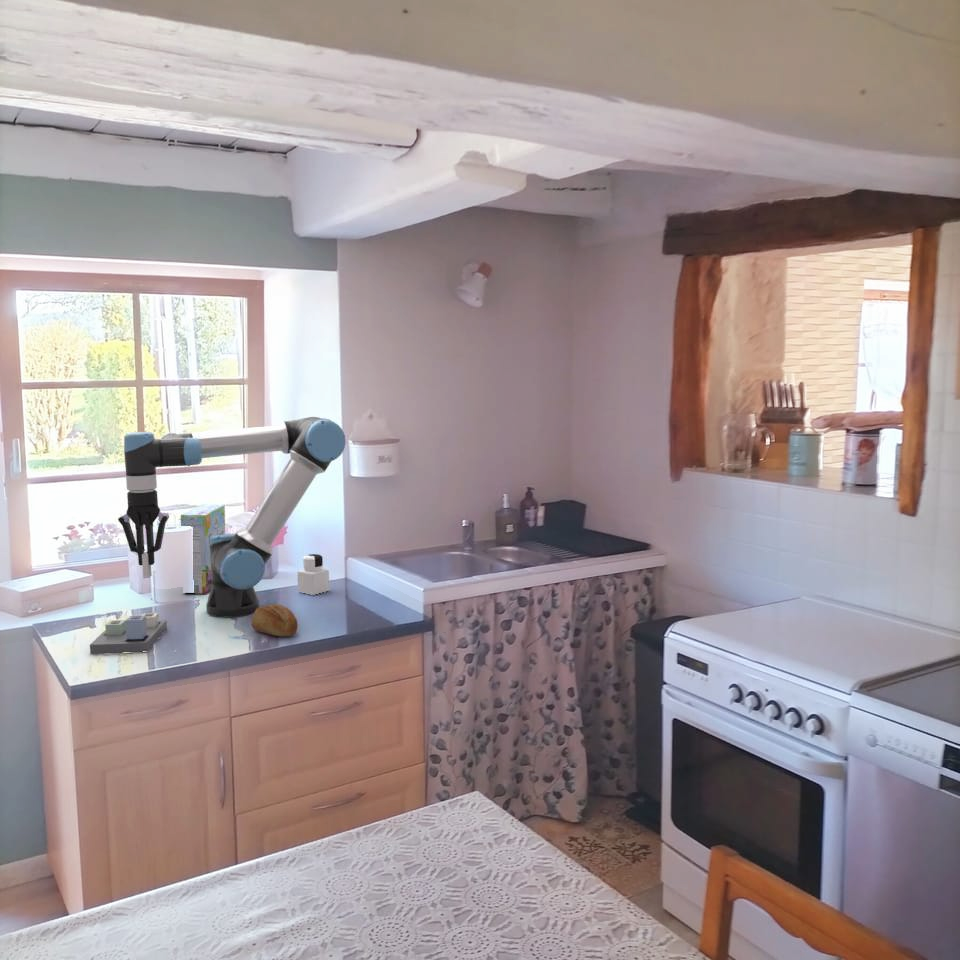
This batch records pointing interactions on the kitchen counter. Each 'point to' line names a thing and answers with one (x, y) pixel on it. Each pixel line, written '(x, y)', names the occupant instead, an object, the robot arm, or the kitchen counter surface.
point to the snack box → (203, 541)
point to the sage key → (115, 627)
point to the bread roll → (274, 620)
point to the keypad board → (127, 641)
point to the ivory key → (151, 619)
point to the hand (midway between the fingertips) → (147, 576)
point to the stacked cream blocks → (313, 575)
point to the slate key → (136, 627)
